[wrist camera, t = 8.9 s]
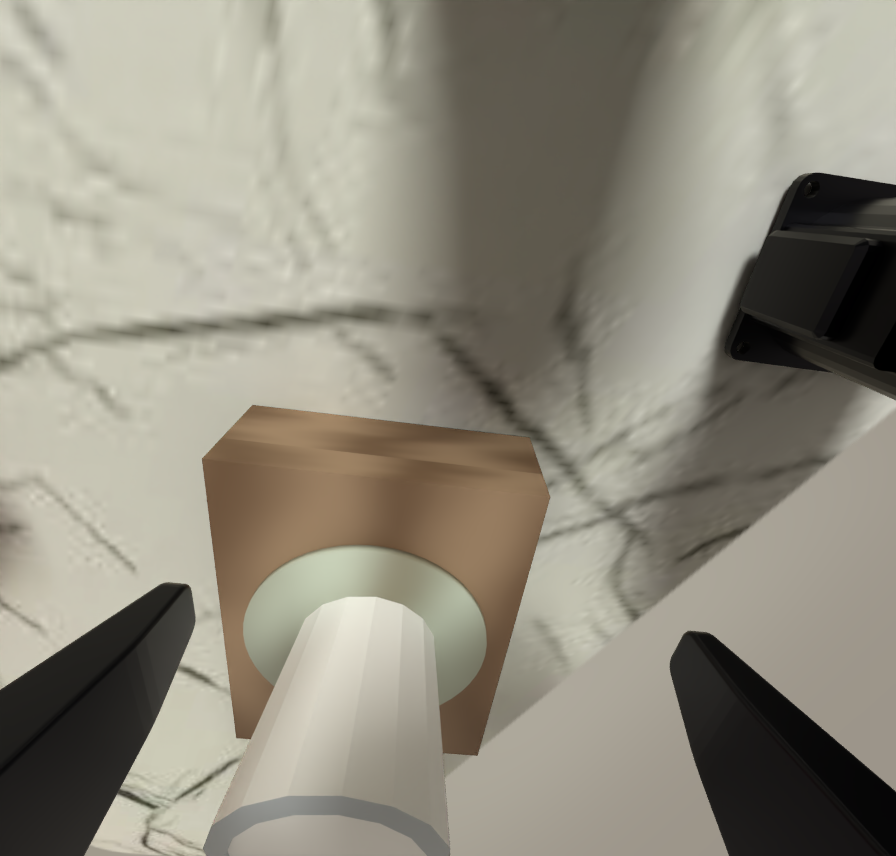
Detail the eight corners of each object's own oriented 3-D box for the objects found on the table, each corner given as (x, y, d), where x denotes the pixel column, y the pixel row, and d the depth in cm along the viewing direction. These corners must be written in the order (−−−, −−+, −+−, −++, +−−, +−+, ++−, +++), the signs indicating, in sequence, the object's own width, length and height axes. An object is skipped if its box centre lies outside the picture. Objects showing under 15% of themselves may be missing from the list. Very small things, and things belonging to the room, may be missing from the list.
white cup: (466, 598, 18) (477, 816, 11) (433, 705, 21) (427, 924, 15) (287, 571, 17) (195, 787, 11) (279, 686, 20) (204, 907, 14)
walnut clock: (529, 437, 20) (552, 503, 16) (472, 673, 27) (478, 764, 23) (252, 405, 19) (196, 464, 15) (268, 656, 26) (232, 746, 22)
